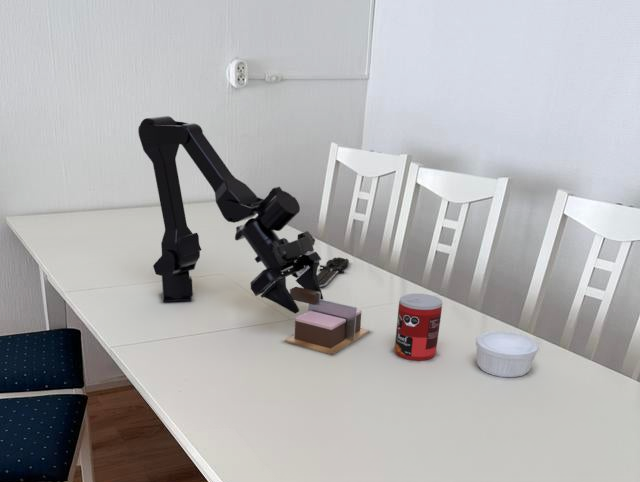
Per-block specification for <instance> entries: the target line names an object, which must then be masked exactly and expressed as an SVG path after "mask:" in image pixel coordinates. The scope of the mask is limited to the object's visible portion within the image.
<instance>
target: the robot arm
mask: <svg viewBox="0 0 640 482" xmlns="http://www.w3.org/2000/svg"><path fill="white" fill-rule="evenodd" d="M137 133H138V137H139V140H140V143H141V147H142V150H143V152H144V153H145V155H146V156H147V158H149V160H150V162H152V163H151V164H152V166H153V172H154V176H155V182H156V188H157V193H158V198H159V203H160V208H161V215H162V220H163V225H164V232H163V235H162V240H161V243H160V245H161V246H160V247H161V255H160V257H159V258H158V260H156V261H155V263H154V264H153V266H152V267H153V270H154V273H155V275H156V276H161V287H162V291H161V296H162V302H163V303H177V302H191V301H192V297H193V295H194V294H193V293H194V291H193V277H192V276H191V275H190V271H193V270H195V269H196V265H197V262H198V261H199V259H200V258H201V251H202V247H201V245H200V237H199V233H198V232H194V233H193V232H192V230H191V229H190V228H189V227H188V224H187V220H186V217H187V216H186V211H185V205H184V201H183V196H182V189H181V184H180V179H179V178H180V177H179V173H178V172H179V171H178V167H177V161H176V158H177V156H178V151H179V148H180V145H181V146H182V147H183V149H184V150H185V152H186V153H187V154H188V156H189V157H190V158H191V160H192V161H193V163H194V164H195V165H196V167H197V168H198V170H199V171H200V173H201V174H202V175H203V178H205V180H206V181H207V182H208V184H209V185H210V187H211V188H212V190H213V192H214V197H215V203H216V206H217V208H218V209H219V211H220V213H221V215H222V217H223V218H224V219H225V221H226V222H228V223H233V224H236V223H239V222H242V221H245V220H247V221H246V222H245V223H244V224H240V225H237V226H236V227H235V235H234V240H235V241H240V240H243V239H245V240H246V241H247V243H248V244H249V246H250V248H252V251H253V252H254V253H255V255H256V257H255V258H254V260H255V262H256V263H257V264H258V263H262V264H263V266H264V267H265V269H263V270H262V271H261V272H260V273H258V275H257V276H256V277H254V279H252V281H251V282H250V290H251V292H252V293H253V294H254V296H255V297H257V296H259V295H260V297H261V298H264V299H267V300H268V301H271V302H273V303H275V304H277V305H279V306H281V307H282V308H285V309H286V310H288V311H289V312H292V313H293V314H298V313H299V312H300V309H299V307H298V305H297V303H296V301H295V300H293V298H292V296H291V295H290V290H289V289H288V288H287V277H290V276H292V277H294V278H296V279H295V282H296V283H297V284H298V285H299V286H300V287H301V288H304V289H309V290H313V291H318V292H320V293H321V299H322V300H324V296H323V293H322V290H321V287H320V286H319V283H320V282H318V278H317V275H318V269H319V267H320V265H321V264H320V262H321V261H322V258H321V256H320V254H319V253H318V252H317V251H315V248H314V245H315V243H316V238H314V237H313V235H312V234H311V233H310V232H309V231H308V230H306V231H304V232H301V233H298V234H297V239H295V240H293V241H290V242H289V240H288V238H285V237H283V238H280V237H279V236H278V234H277V232H281V231H282V230H283V229H284V228H285V227H286V226H287V225H288V224H289V223H290V222H291V221H292V220H293V219H294V218H295V217H296V216H297V215H298V214H299V213H300V211H301V207H300V203H299V202H298V200H297V198H296V197H295V196H293V195H291V194H290V193H289V192H288V191H285V190H283V188H282V187H281V186H275V187H273V188H271V190H269V193H268V195H267V196H265V198H262V197H260V196H257V195H256V193H255V192H254V191H253V190H252V189H251V188H250V187H249V186H248V185H247V184H246V183H244V182H243V181H241V180H239V179H238V178H236V177H235V176H234V174H232V172H231V171H230V170H229V168H228V167H227V165H226V163H225V162H224V161H223V160H222V158H221V157H220V155H219V154H218V153H217V151H216V150H215V148H214V147H213V145H212V144H211V143H210V141H209V140H208V138H207V137H206V136H205V134H204V132H203V129H202V127H201V125H199V124H197V123H195V122H191V123H190V122H187V121H180V120H179V121H177V120H175V119H174V118H173V117H171V116H169V115H162V116H160V115H159V116H153V117H146V118H143V120H142V121H141V122H140V124H139V126H138V132H137ZM256 215H257V216H256Z"/></svg>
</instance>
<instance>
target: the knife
mask: <svg viewBox="0 0 640 482" xmlns="http://www.w3.org/2000/svg"><path fill="white" fill-rule="evenodd" d="M349 263H350V260H349V259H348V258H344V257H332V259H328V260H327V261H326V264H325V265H321V264H320V265H319V271H320V272H319V273H317V278H318V282H319V286H320V288H321V287H325V286H327V285H328V284H329V283H330V282H331V280H333V278H334V277H335V276H336V275H337V274H338V275H339V274H345V270H346V269H347V268H348V266H349V265H348V264H349Z"/></svg>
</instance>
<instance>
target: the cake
mask: <svg viewBox="0 0 640 482" xmlns="http://www.w3.org/2000/svg"><path fill="white" fill-rule="evenodd" d="M362 311H363V310H362V309H359V308H357V312H356V326H355V333H357V332H359V331H360V328H361V326H362V325H361V324H362ZM345 325H346V319H343V318H338V317H334V316H330V315H326V314H322V313H318V312H314V311H308V310H307V311H306V312H304V313H303V314H300V315H298V316H296V317H295V320H294V335H295V339H297V340H301V341H304V342H308V343H312V344H315V345H319V346H323V347H327V348H330V349H331V348H332V347H334V346H336V345H337V344H339V343H341V342H342V341H344V340H345Z"/></svg>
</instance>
